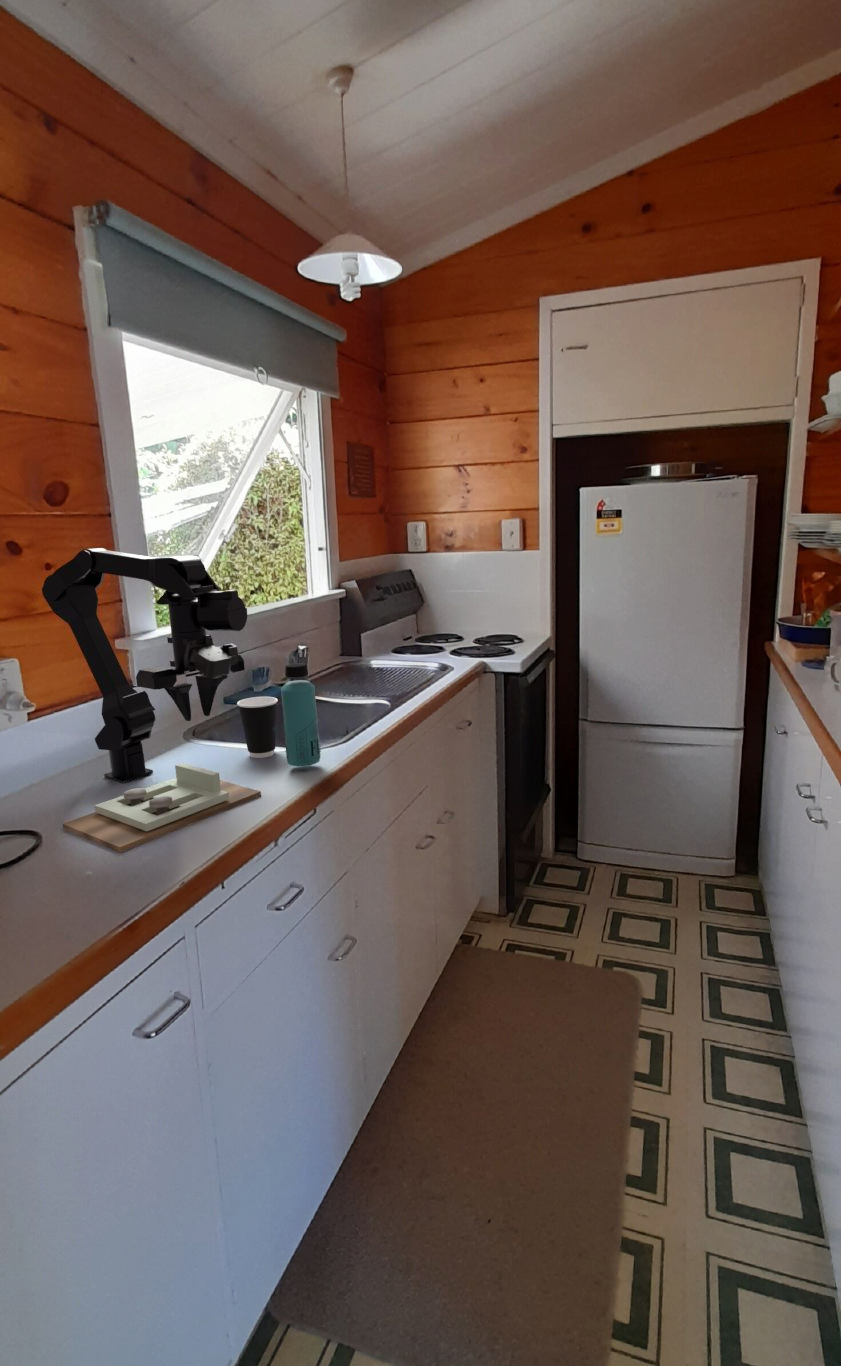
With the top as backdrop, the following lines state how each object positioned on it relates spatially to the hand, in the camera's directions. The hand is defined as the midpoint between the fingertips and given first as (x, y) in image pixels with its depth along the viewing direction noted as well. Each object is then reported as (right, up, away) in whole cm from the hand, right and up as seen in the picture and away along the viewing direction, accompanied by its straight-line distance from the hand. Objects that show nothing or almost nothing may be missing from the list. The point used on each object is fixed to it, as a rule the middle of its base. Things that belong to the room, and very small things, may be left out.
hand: (197, 718), depth 130 cm
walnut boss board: (-2, -15, -10) cm, 18 cm away
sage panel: (-2, -14, -11) cm, 18 cm away
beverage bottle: (+17, -10, +8) cm, 22 cm away
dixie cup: (+7, -8, +18) cm, 21 cm away
